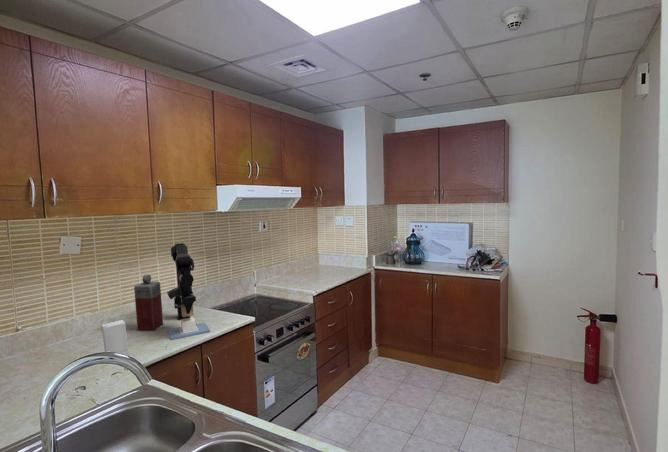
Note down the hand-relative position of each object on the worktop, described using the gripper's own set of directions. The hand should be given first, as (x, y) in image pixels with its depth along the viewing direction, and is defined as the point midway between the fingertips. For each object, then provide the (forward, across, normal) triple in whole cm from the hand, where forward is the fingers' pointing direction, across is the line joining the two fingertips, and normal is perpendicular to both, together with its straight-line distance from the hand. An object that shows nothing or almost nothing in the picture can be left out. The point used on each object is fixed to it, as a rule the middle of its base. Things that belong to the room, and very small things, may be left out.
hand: (187, 312), depth 184 cm
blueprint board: (+10, 0, 0) cm, 10 cm away
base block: (+9, 0, 0) cm, 9 cm away
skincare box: (+10, +14, -31) cm, 35 cm away
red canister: (+10, -19, -17) cm, 27 cm away
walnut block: (+1, 0, 0) cm, 1 cm away
